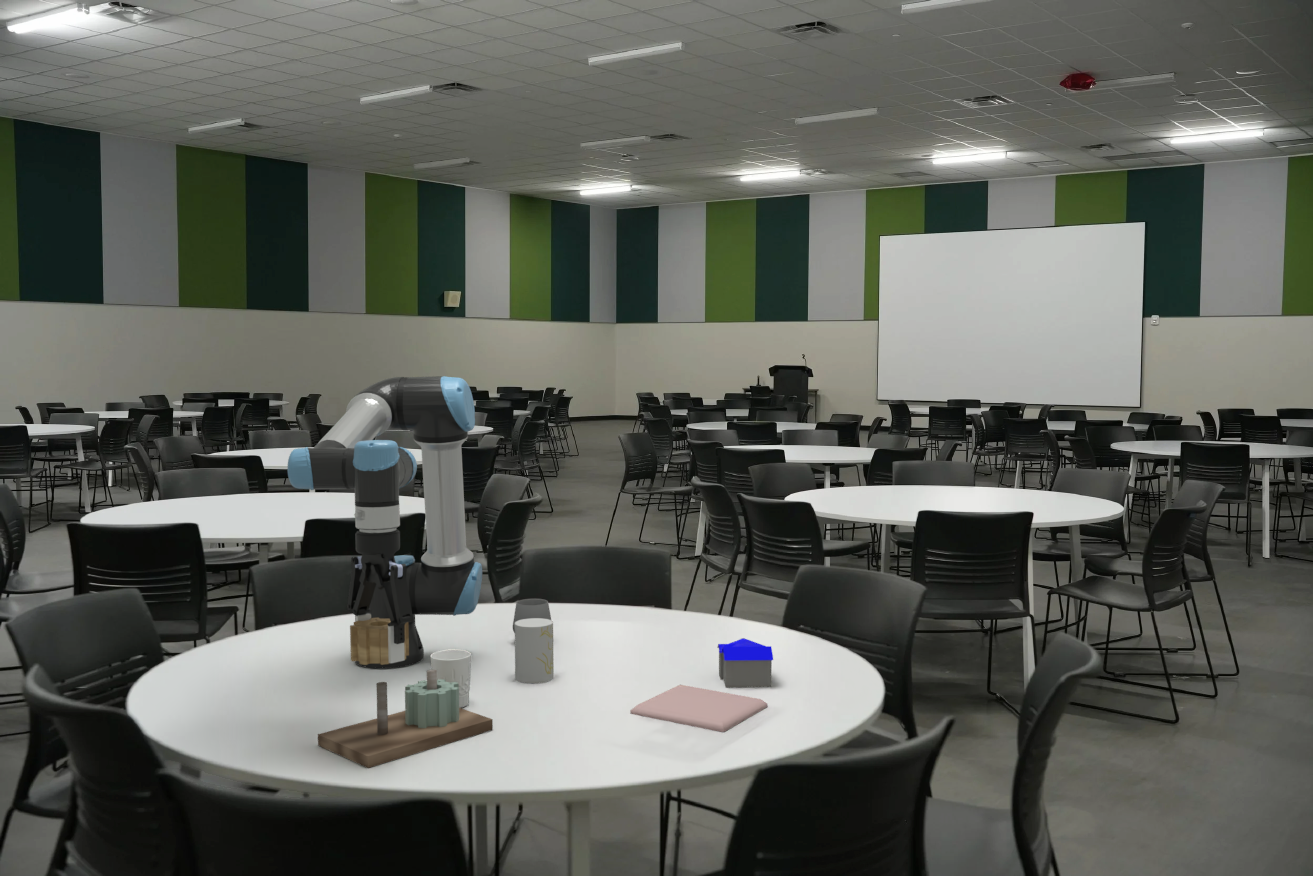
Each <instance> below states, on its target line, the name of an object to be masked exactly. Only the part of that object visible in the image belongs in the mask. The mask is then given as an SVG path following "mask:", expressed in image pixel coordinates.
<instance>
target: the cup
mask: <svg viewBox="0 0 1313 876" xmlns="http://www.w3.org/2000/svg"><path fill="white" fill-rule="evenodd" d="M530 618H543V619H549V620H552V616H551V611H550V604H549V601H548V600H547V599H542V598H525V599H520V600H518V601H516V603H515V609H514V615H513V622H512V631H513V633H514V634H515V622H516V621H518V620H522V619H530Z"/></svg>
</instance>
